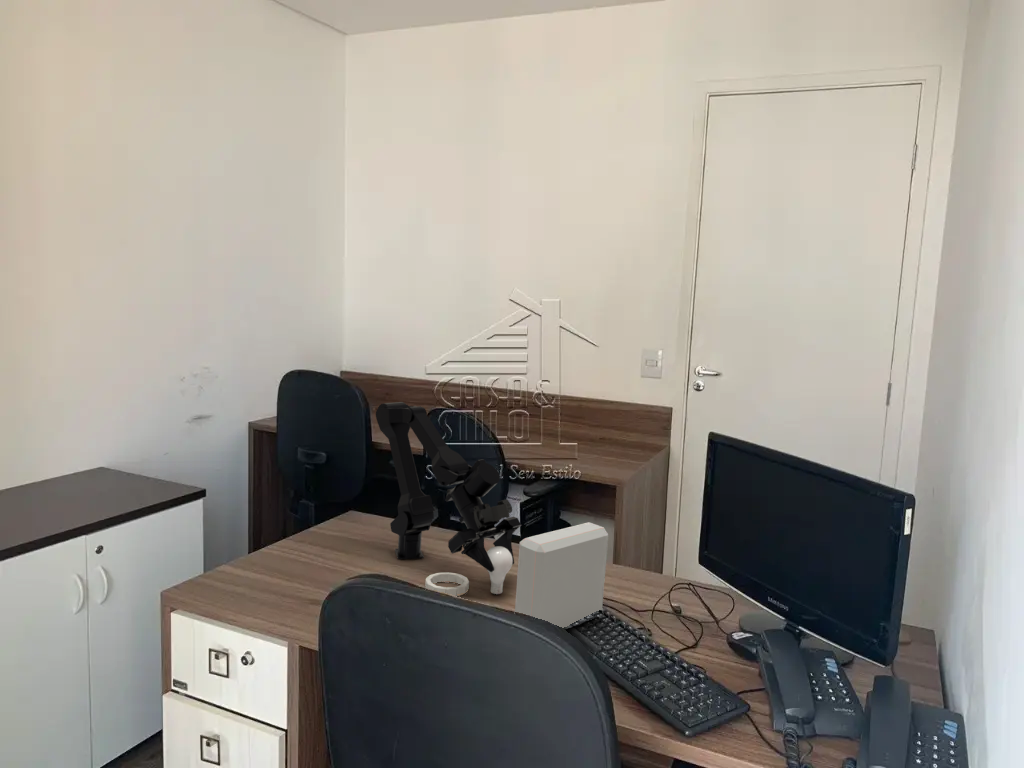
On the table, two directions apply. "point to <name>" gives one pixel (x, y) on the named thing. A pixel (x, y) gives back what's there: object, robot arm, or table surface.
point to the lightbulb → (499, 567)
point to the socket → (448, 577)
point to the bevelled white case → (562, 574)
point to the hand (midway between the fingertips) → (502, 567)
